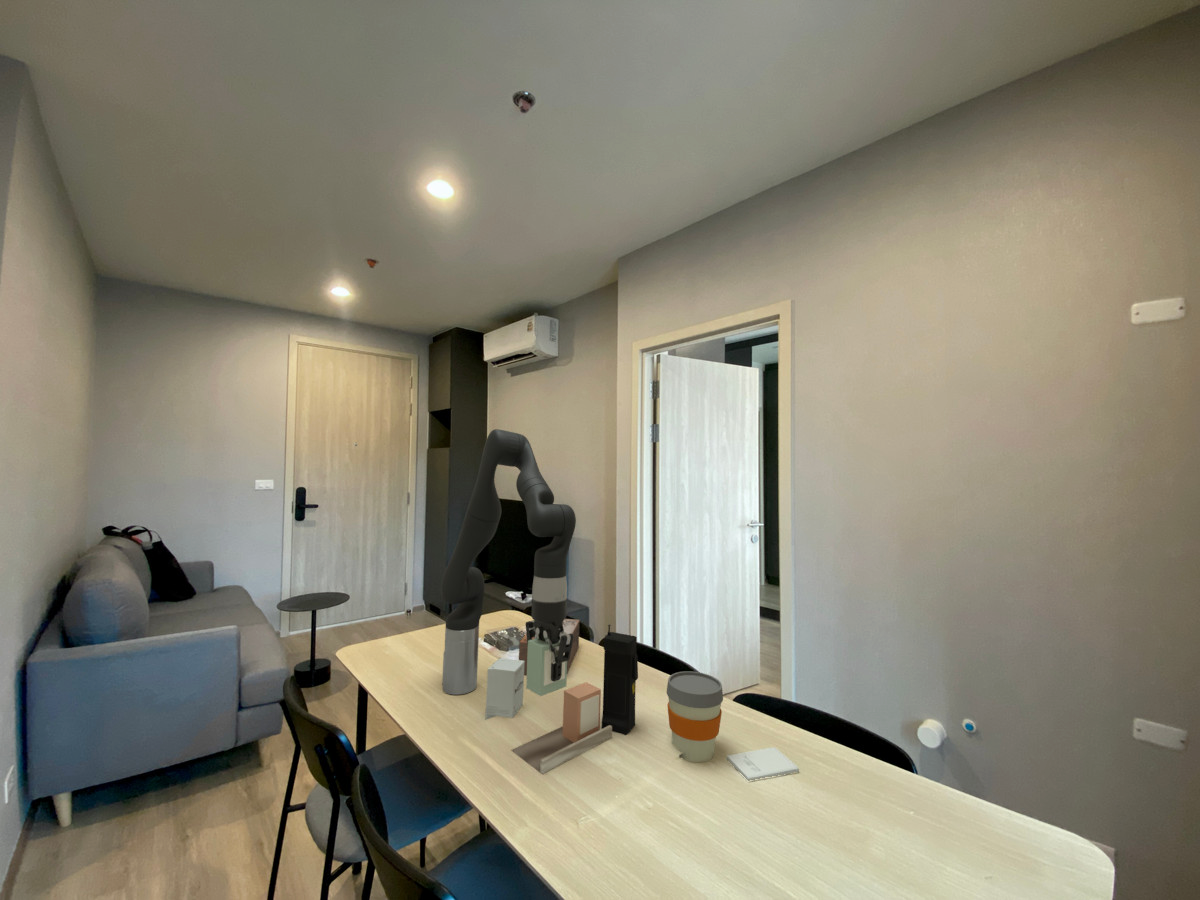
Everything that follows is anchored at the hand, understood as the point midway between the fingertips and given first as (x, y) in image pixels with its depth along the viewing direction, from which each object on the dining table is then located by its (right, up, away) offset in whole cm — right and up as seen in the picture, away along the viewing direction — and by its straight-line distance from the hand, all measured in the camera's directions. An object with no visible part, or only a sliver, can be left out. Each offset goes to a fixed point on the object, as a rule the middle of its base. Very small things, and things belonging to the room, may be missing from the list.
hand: (547, 675), depth 103 cm
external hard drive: (+46, -20, -1) cm, 50 cm away
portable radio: (+16, -19, +11) cm, 27 cm away
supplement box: (-13, -18, +17) cm, 28 cm away
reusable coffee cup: (+32, -19, +4) cm, 38 cm away
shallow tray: (+3, -18, +3) cm, 18 cm away
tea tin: (0, -3, 0) cm, 3 cm away
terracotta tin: (+7, -17, +7) cm, 19 cm away
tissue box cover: (-5, -21, +53) cm, 57 cm away
